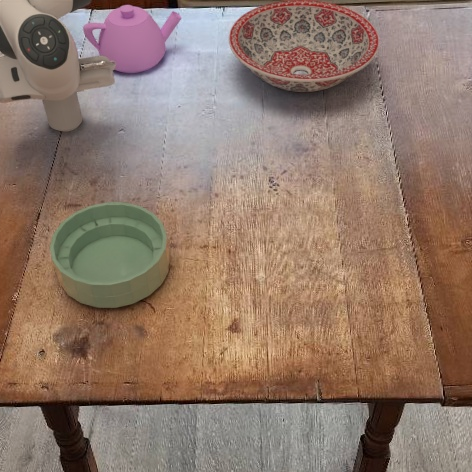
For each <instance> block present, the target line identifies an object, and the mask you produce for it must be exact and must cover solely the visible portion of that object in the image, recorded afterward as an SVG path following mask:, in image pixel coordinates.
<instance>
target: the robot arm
mask: <svg viewBox="0 0 472 472" xmlns="http://www.w3.org/2000/svg"><path fill="white" fill-rule="evenodd" d="M91 2H92V0H0V53H1V54H2V56H0V104H7V103H12V102H13V103H14V102H19V101H24V100H25V101H26V100H44V99H47V100H52V101H59V100H63V99H66V98H68V97H69V96H71V95H72V94H73V93H74V92H75V91H77V93H82V92H85V91H87V90H93V89H100V88H106V87H111V86H113V85H114V84H115V82H116V80H115V75H114V71H115V70H114V69H115V67H116V64H115V62H114V61H110V60H109V59H108V58H107V57H105V56H100V55H95V56H88V57H81V58H79V52H78V48H77V44H76V41H75V39H74V37H73V35H72V33H71V32H70V30H69V29H68V27H67V26H66V25H65V23H63V22H62V21H61V20H60V19H61V18H62V17H64V16H66V15H68V14H71V13H74V12H76V11H78V10H80V9H82V8H84V7H86V6H88V5H90V4H91Z"/></svg>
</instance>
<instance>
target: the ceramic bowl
mask: <svg viewBox="0 0 472 472" xmlns="http://www.w3.org/2000/svg"><path fill="white" fill-rule="evenodd" d="M228 45H229V48H230V50H231V52H232V54H233V56H234V57H235V58H236V59H237V60H238V61H239V62H240V63H241V64H242V65H244V66H246V67H247V68H248V69H249V70H250V71H251V72H252V74H254V75H255V76H256V77H258V78H259V79H260V80H261V81H263V82H265V83H267V84H268V85H270V86H273V87H275V88H278V89H281V90H284V91H288V92H294V93H295V92H297V93H311V92H319V91H325V90H327V89H330V88H333V87H335V86H338V85H339V84H342V83H343V82H345V81H347V80H348V79H349V78H350V77H352V76H353V75H355V74H356V73H357V72H359V71H361V70H363V69H365V68H366V67H367V66H368V65H369V64H371V62H373V60H374V59H375V58H376V56H377V54H378V52H379V49H380V37H379V34H378V32H377V30H376V28H375V27H374V25H373V24H372V23H371V22H370V21H369V20H368V19H367V18H365V17H364V16H363V15H361V14H360V13H357V12H356V11H354V10H352V9H350V8H347V7H345V6H342V5H339V4H335V3H331V2H327V1H319V0H281V1H275V2H270V3H266V4H264V5H260V6H257V7H255V8H252V9H250V10H248V11H247V12H246V13H244V14H243V15H241V16H240V17H239V18H237V19H236V21H235V22H234V23H233V25H232V26H231V28H230V30H229V34H228ZM298 71H304V72H307V74H299V73H297V74H296V73H295V72H298Z"/></svg>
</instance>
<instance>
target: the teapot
mask: <svg viewBox="0 0 472 472" xmlns="http://www.w3.org/2000/svg"><path fill="white" fill-rule="evenodd" d="M181 20H182V16H181V15H180V14H179V13H177V12H176V11H174V10H173V11H171V13H170V14H169V16H168V18H166V21H165V22H164V24H163V25H162V27H161V28H160V26H159V25H158V23H157V22H156V20H155V19H154V18H153V16H152V15H151V14H150V13H149V12H148V11H147V10H145V9H144V8H142V7H140V6H133V5H131V4H124V5H121V6H120V7H117V8H115V9H113V10H111V11H110V12H109V13H108V14H107V16H106V17H105V20H104V22H87V23H85V24H83V27H82V31H83V34H84V36H85V38H86V39H87V40H88V42H89V43H90V44H91V45H92V46H93V47H94V48H95V49H96V50H97V51H98V56H105V57H107V58H108V59H109V60H110V61H114V62H115V64H116V67H115V69H114V70H113V71H115V72H119V73H124V74H136V73H143V72H146V71H148V70H151V69H153V68H154V67H156V66H157V65H158V64H159V62H161V60H162V59H163V57H164V56H165V53H166V50H167V47H166V42H167V40H168V39H169V38H170V36H171V35H172V33H173V32H174V30H175V29H176V27H177V26H178V25H179V23H180V22H181ZM94 30H100V32H99V35H98V40H96V38H95V35H94V34H93V31H94Z"/></svg>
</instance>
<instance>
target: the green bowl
mask: <svg viewBox="0 0 472 472" xmlns="http://www.w3.org/2000/svg"><path fill="white" fill-rule="evenodd" d="M49 251H50V256H51V262H52V264H53V267H54V270H55V274H56V277H57V280H58V283H59V285H60V286H61V288H62V289H63V290H64V292H65V293H66V294H67V296H69V297H70V298H72V299H74V300H75V301H77V302H78V303H80V304H83V305H86V306H90V307H93V308H97V309H116V308H121V307H125V306H130V305H134V304H136V303H137V302H139V301H141V300H143V299H146V298H148V297H149V296H151V295H152V294H153V293H154V292H155V291H156V290H157V289H159V287H161V286H162V285H163V283H164V282H165V280H166V277H167V275H168V274H169V270H170V261H171V258H170V251H169V241H168V234H167V232H166V228H165V225H164V223H163V222H162V221H161V220H160V219H159V217H158V216H157V215H156V214H155V213H154V212H152V211H151V210H148V209H146V208H145V207H143V206H141V205H138V204H133V203H129V202H126V201H125V202H124V201H121V202H120V201H108V202H101V203H97V204H92V205H88V206H86V207H83V208H81V209H80V210H76V211H75V212H73V213H72V214H71V215H69V216H68V217H67V218H65V219H64V220H63V221H62V222H61V223H60V224H59V225H58V227H57V228H56V229H55V231H54V232H53V234H52V236H51V241H50V245H49Z"/></svg>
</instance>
